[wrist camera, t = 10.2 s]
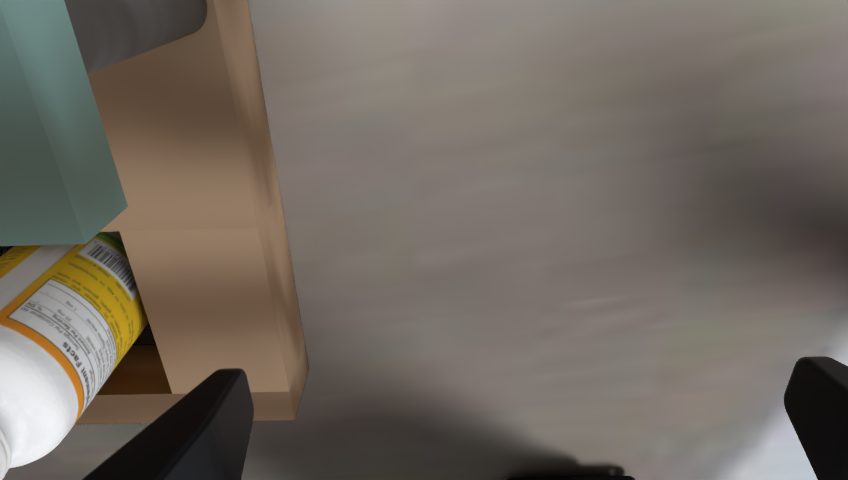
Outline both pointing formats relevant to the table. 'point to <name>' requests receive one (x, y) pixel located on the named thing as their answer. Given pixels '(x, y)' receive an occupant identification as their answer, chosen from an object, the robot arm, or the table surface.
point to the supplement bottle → (60, 337)
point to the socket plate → (156, 186)
